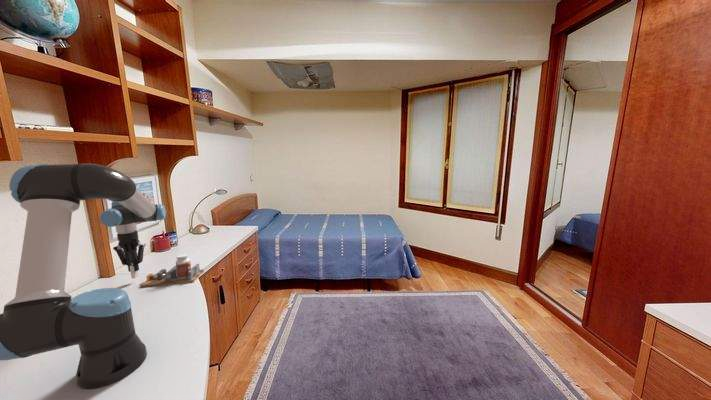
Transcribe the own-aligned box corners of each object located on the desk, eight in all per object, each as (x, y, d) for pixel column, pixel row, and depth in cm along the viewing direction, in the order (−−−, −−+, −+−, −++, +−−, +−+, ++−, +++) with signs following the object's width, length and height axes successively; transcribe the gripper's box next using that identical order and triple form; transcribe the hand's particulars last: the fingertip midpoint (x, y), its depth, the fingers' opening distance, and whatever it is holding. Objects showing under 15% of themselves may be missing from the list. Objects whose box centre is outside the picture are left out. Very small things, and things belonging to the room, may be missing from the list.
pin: (163, 278, 130) (163, 274, 130) (146, 280, 129) (146, 276, 129) (167, 276, 133) (166, 272, 133) (150, 277, 132) (149, 273, 132)
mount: (193, 282, 128) (192, 272, 128) (140, 287, 124) (138, 277, 123) (203, 271, 141) (202, 262, 140) (155, 275, 137) (154, 266, 136)
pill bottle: (192, 276, 132) (189, 256, 131) (177, 279, 129) (174, 258, 127) (191, 272, 138) (189, 252, 136) (177, 275, 134) (174, 255, 132)
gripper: (146, 228, 130) (154, 272, 134) (117, 230, 128) (125, 275, 132) (137, 232, 123) (145, 279, 127) (105, 235, 120) (114, 282, 124)
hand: (135, 277), depth 129 cm, fingers closed
